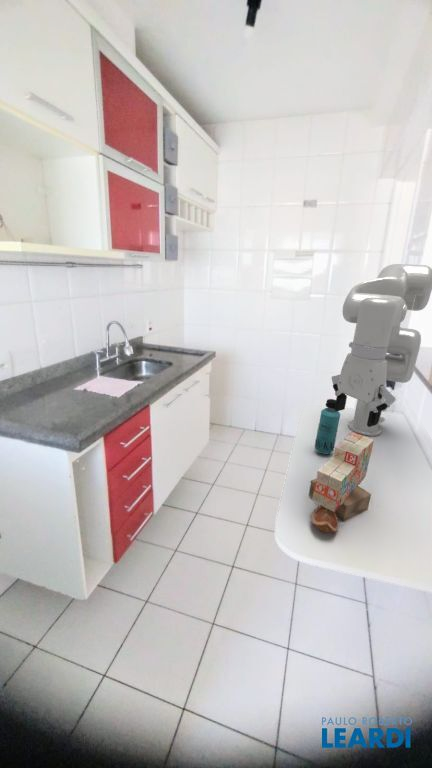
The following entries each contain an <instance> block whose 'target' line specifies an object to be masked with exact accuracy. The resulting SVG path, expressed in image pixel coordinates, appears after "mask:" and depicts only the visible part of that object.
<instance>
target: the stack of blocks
mask: <svg viewBox="0 0 432 768" xmlns="http://www.w3.org/2000/svg"><path fill="white" fill-rule="evenodd" d="M374 441H375V440H374V439H372V438H369V437H367V436H365V435H362V434H359V433H356V432H351V433H349V434H348V435H346V436H345V437H344V439H342V440H341V441H339V443H338V444H337V445H336V446H335V447H334V451H333V455H332V457H331V458H330V459H329V460H328V461H326V462H325V463H324V464H323V465H322V466H321V467H320V468H319V469H318V470H317V472H316V473H317V474H316V478H315V479H316V481H315V486H314V492H313V498H311V499H312V500H311V501H312V502H313V503H316V504H317V505H319V506H320V505H322V506H323V507H325V508H327V509H329V510H331V511H333V512H335V511H336V510H337V508H338V507H339V506H340V505H341V504H342V503H343V502H344V501H345V500H346V499H347V497H348V496H349V495H350V494H351V492H352V491H353V490H354V489H355V488H356V487H357V486H359V485H360V484H361V483H362V481H364V479H365V478H366V476H367V472H368V467H369V462H370V458H371V455H372V450H373V445H374Z"/></svg>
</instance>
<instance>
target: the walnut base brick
mask: <svg viewBox="0 0 432 768" xmlns="http://www.w3.org/2000/svg"><path fill="white" fill-rule="evenodd" d="M315 481H316V478H314V479H312V480H311V481H310V487H309V490H308V491H309V493H308V496H309V497H310V498H311V499H312V498H313V492H314V486H315ZM371 497H372V494H371V492H368V491H367V490H365V489H364V488H363V487H360V486H359V485H358V486H357V487H356V488H355V489H354V490H353V491H352V492H351V494H350V495H349V496H348V497H347V499H346V500H345V501H344V502H343V503H342V504H341V505H340V506H339V507H338V508H337V510H336V511H335V514H336V516H337V519H338V520H339V521H341V522H342V523H344V522H346V521H348V520H350V519H352V518H354V517H357V516H358V515H360V514H362V513H364V512H366V511H368V510H369V507H370V501H371Z"/></svg>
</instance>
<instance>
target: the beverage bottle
mask: <svg viewBox="0 0 432 768" xmlns="http://www.w3.org/2000/svg"><path fill="white" fill-rule="evenodd" d="M335 403H336V399H333V398H328V399H327V400H326V403H325V408H323V409H321V411H320V415H319V417H320V418H319V423H318V426H317V431H316V432H317V433H316V437H315V441H314V449H315V451H316V452H318V453H320V454H324V455H328V454H329V455H330V454H332V453H334V450H335V447H336V446H335V445H336V440H337V434H338V428H339V425H340V424H339V423H340V419H341V418H340V417H341V413H340V411H335Z"/></svg>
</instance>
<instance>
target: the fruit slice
mask: <svg viewBox="0 0 432 768" xmlns="http://www.w3.org/2000/svg"><path fill="white" fill-rule="evenodd" d="M310 521H311V522H312V525H314V526H315V527H316V528H317V529H318V530H320V531H322V532H325V533H331V534H332V533H333V534H334V533H336V532H338V531H339V527H340V525H339V519H338V518H337V516H336V514H335V512H333V511H331V510H329V509H327V508H325V507H323V506H322V505H320V504H319V506H318V507H316V508H315V509H314V510H313V512H312V514H311V516H310Z"/></svg>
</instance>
